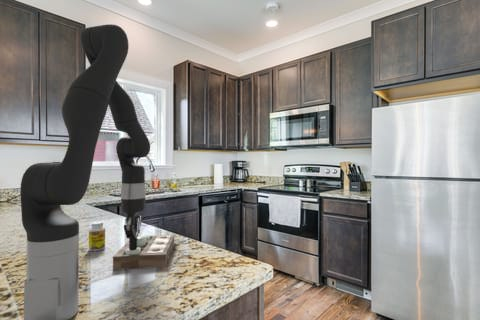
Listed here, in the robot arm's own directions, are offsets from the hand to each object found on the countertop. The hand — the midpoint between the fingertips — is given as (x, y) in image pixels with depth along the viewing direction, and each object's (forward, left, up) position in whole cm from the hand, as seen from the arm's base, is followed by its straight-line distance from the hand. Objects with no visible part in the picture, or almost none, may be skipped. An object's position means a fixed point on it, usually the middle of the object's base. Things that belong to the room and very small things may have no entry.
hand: (133, 249), depth 86 cm
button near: (0, 0, -4) cm, 4 cm away
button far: (+15, 0, -4) cm, 15 cm away
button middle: (+7, 0, -2) cm, 8 cm away
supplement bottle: (+17, +18, -5) cm, 25 cm away
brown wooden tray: (+7, -3, -5) cm, 9 cm away
